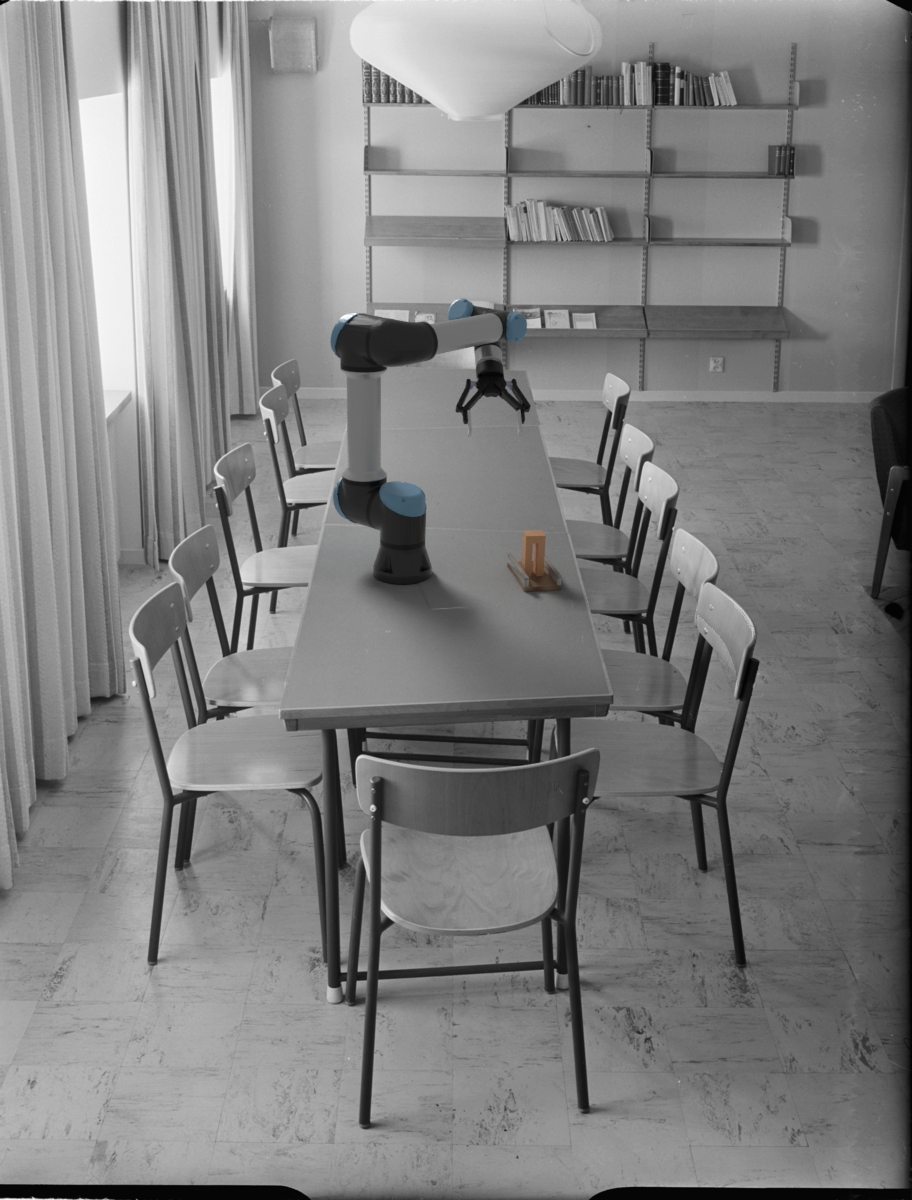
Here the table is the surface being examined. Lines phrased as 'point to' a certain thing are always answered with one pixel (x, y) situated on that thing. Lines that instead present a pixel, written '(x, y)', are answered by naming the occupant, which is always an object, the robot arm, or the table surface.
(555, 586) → the rail
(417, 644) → the table surface
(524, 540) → the clip
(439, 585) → the table surface
